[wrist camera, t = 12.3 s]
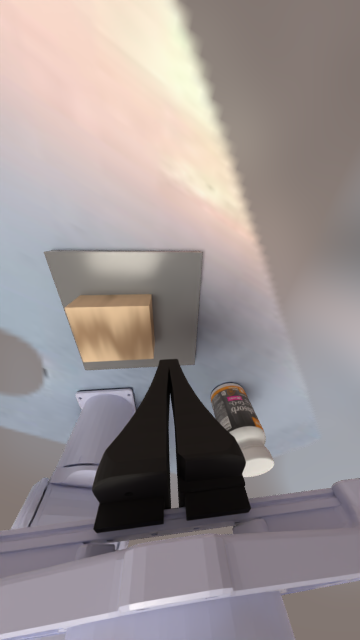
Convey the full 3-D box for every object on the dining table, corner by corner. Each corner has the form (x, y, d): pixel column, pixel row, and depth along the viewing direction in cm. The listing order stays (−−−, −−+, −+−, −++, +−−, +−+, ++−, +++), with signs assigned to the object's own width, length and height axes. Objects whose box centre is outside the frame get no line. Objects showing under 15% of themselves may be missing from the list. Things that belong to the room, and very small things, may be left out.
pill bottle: (248, 383, 27) (289, 456, 18) (234, 405, 29) (264, 479, 21) (216, 379, 26) (243, 455, 17) (204, 402, 28) (222, 479, 20)
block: (153, 358, 17) (83, 362, 17) (154, 341, 20) (94, 344, 19) (149, 305, 14) (64, 307, 14) (151, 294, 17) (80, 295, 16)
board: (193, 358, 23) (194, 364, 22) (89, 363, 22) (85, 370, 21) (200, 251, 17) (202, 252, 16) (51, 250, 15) (43, 251, 14)
